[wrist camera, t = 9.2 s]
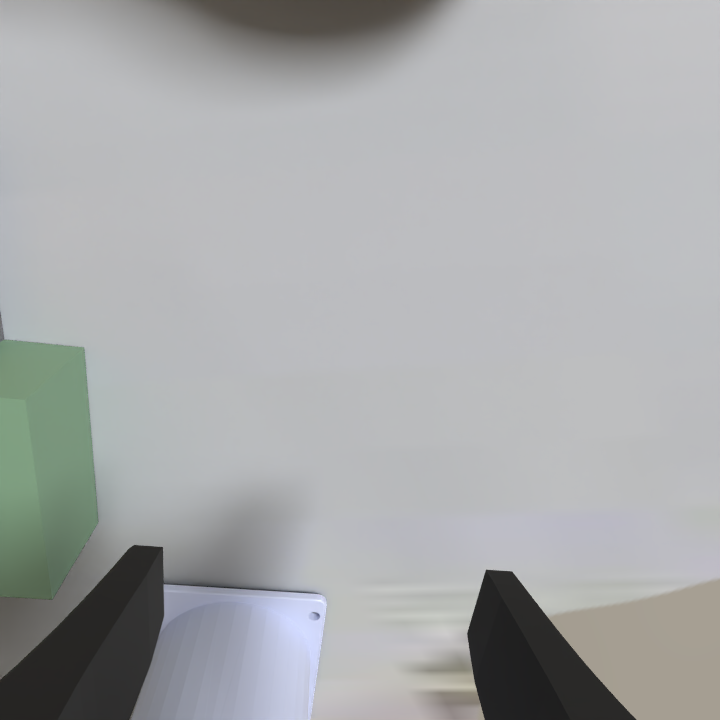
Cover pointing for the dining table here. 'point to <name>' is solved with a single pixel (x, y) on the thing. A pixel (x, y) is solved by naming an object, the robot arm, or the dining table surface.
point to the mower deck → (43, 466)
